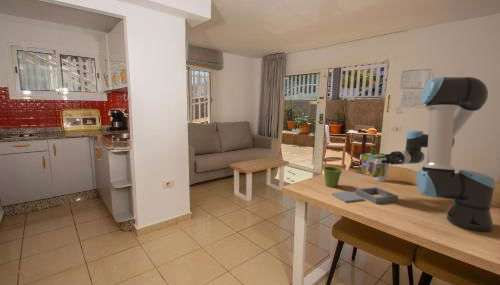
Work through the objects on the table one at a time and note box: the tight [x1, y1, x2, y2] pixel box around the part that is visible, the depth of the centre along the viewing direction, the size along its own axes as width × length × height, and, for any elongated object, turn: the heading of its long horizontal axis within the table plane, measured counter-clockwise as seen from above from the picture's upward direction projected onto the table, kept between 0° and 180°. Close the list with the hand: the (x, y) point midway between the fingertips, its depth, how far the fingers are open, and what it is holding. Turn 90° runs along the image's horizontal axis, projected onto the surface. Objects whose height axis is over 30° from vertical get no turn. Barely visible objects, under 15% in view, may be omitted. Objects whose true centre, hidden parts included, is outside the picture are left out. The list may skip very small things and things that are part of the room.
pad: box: [331, 191, 365, 203], centre depth 135 cm, size 12×12×1 cm
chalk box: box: [360, 148, 386, 178], centre depth 134 cm, size 9×9×15 cm
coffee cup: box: [374, 163, 390, 182], centre depth 168 cm, size 10×10×15 cm
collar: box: [354, 186, 399, 205], centre depth 136 cm, size 15×15×3 cm
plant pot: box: [322, 166, 343, 188], centre depth 154 cm, size 12×12×11 cm
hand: (367, 159), depth 132 cm, fingers closed on chalk box, 11 cm apart
